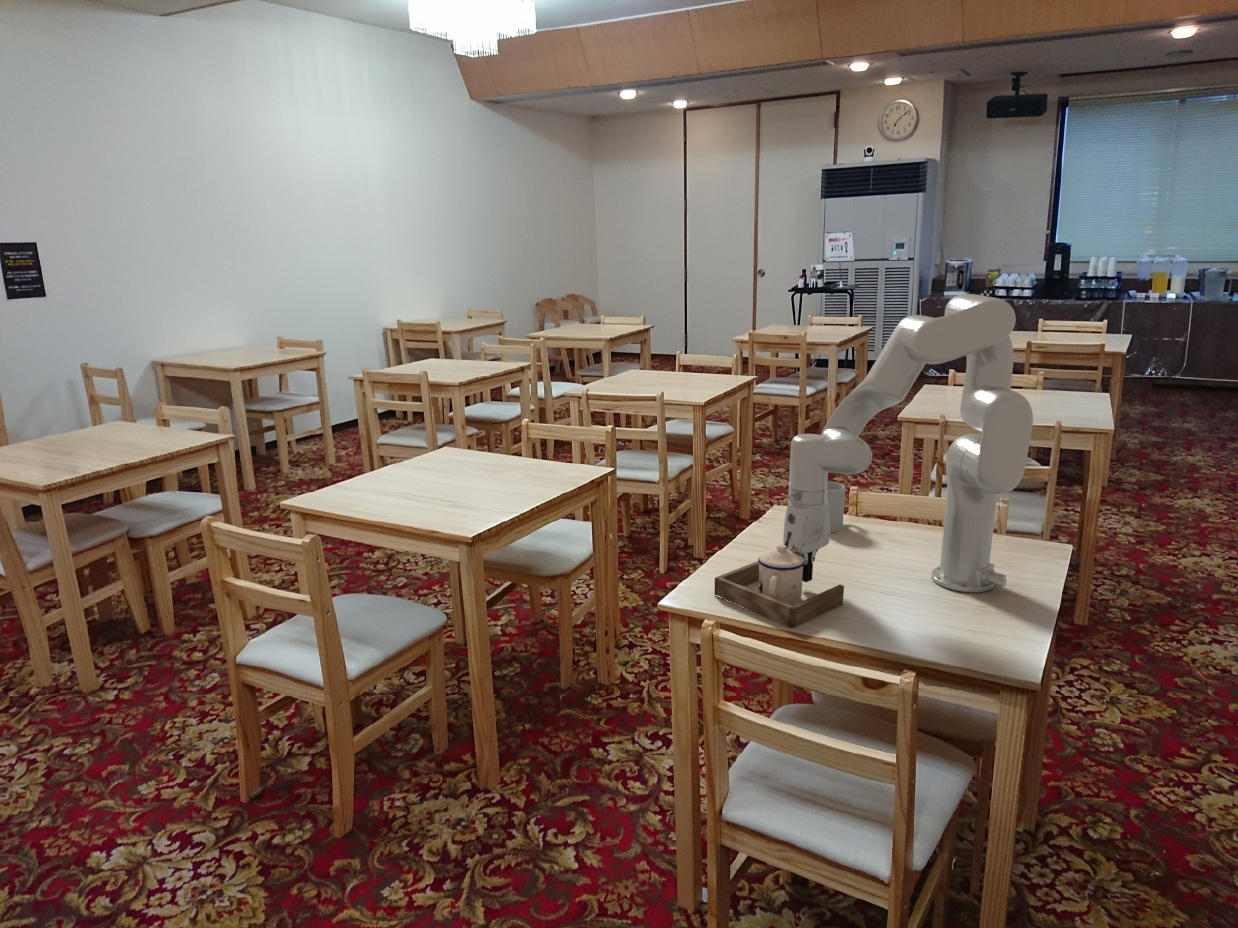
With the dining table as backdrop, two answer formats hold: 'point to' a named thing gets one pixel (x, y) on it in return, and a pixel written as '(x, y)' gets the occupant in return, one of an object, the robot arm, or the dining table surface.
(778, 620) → the box
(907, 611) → the dining table surface
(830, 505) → the mug
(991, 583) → the robot arm
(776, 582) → the teacup with lid
